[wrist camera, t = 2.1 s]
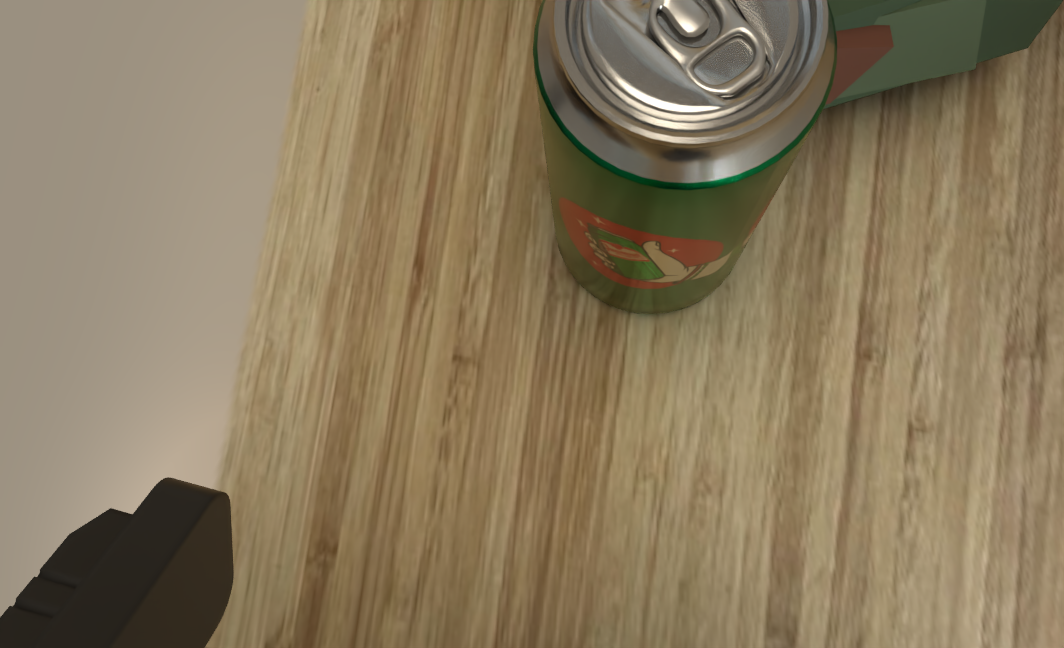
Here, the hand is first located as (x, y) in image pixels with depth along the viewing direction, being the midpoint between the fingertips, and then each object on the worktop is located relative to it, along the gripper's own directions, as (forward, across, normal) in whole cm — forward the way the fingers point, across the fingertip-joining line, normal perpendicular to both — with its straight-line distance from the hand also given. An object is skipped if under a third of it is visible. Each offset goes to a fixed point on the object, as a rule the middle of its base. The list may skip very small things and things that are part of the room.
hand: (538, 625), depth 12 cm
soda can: (+17, 0, +4) cm, 17 cm away
